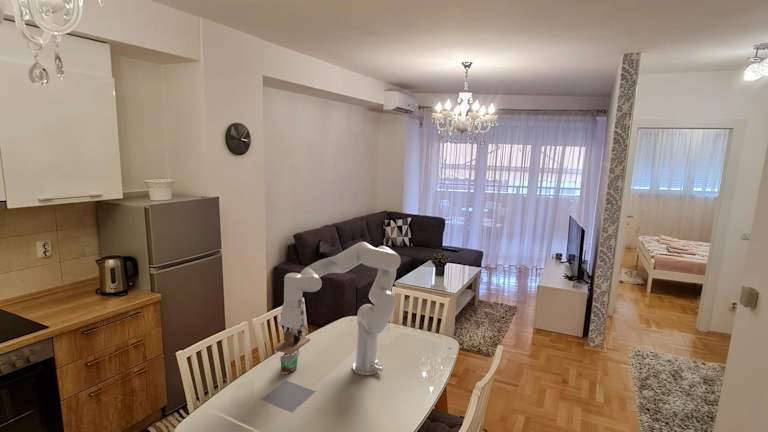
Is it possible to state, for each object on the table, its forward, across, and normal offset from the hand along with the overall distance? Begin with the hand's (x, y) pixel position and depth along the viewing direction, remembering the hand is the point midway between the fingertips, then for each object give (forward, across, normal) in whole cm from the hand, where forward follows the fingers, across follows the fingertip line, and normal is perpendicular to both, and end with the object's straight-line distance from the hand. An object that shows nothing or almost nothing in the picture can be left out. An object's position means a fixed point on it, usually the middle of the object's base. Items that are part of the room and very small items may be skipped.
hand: (292, 341), depth 177 cm
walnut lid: (+2, 0, 0) cm, 2 cm away
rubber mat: (+19, -6, +10) cm, 22 cm away
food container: (+19, +5, -7) cm, 21 cm away
